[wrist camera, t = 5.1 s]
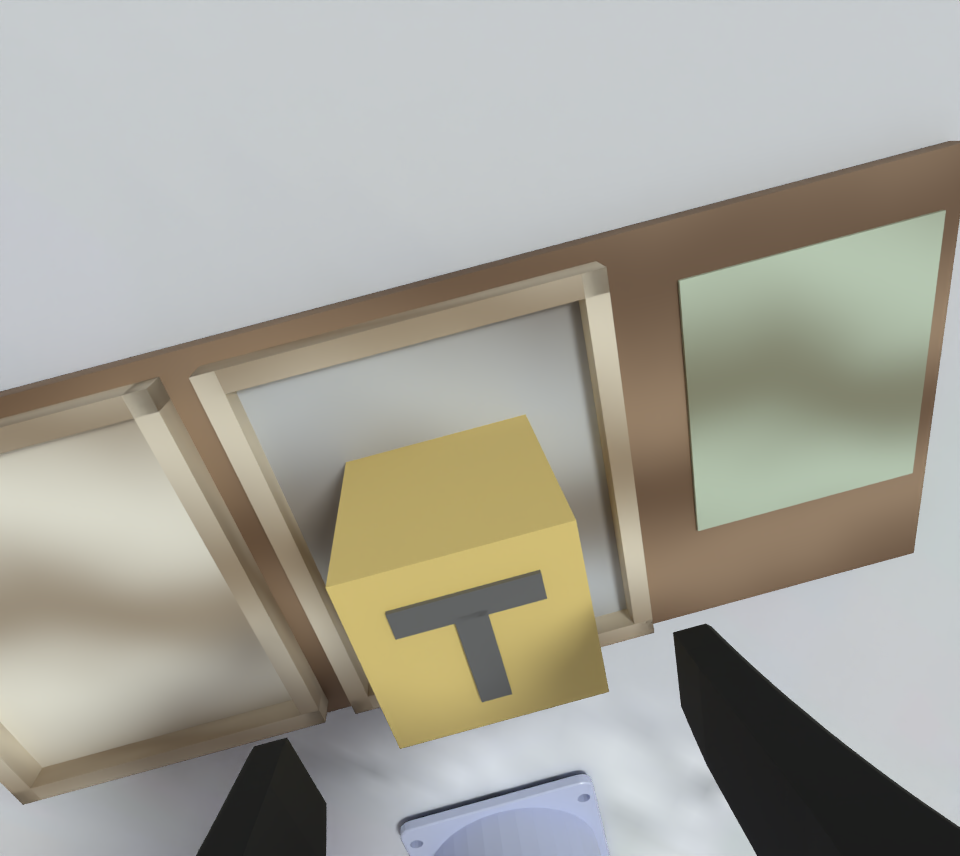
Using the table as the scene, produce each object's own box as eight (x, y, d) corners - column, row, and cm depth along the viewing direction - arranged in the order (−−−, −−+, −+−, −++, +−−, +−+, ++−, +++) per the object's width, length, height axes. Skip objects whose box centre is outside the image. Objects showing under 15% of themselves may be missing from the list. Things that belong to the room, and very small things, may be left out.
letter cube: (556, 556, 18) (610, 695, 13) (399, 599, 18) (400, 753, 13) (525, 414, 16) (577, 523, 11) (345, 462, 16) (324, 591, 11)
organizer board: (900, 542, 21) (932, 567, 19) (40, 776, 20) (16, 817, 19) (949, 141, 15) (1000, 140, 14) (-258, 459, 14) (-320, 489, 13)
